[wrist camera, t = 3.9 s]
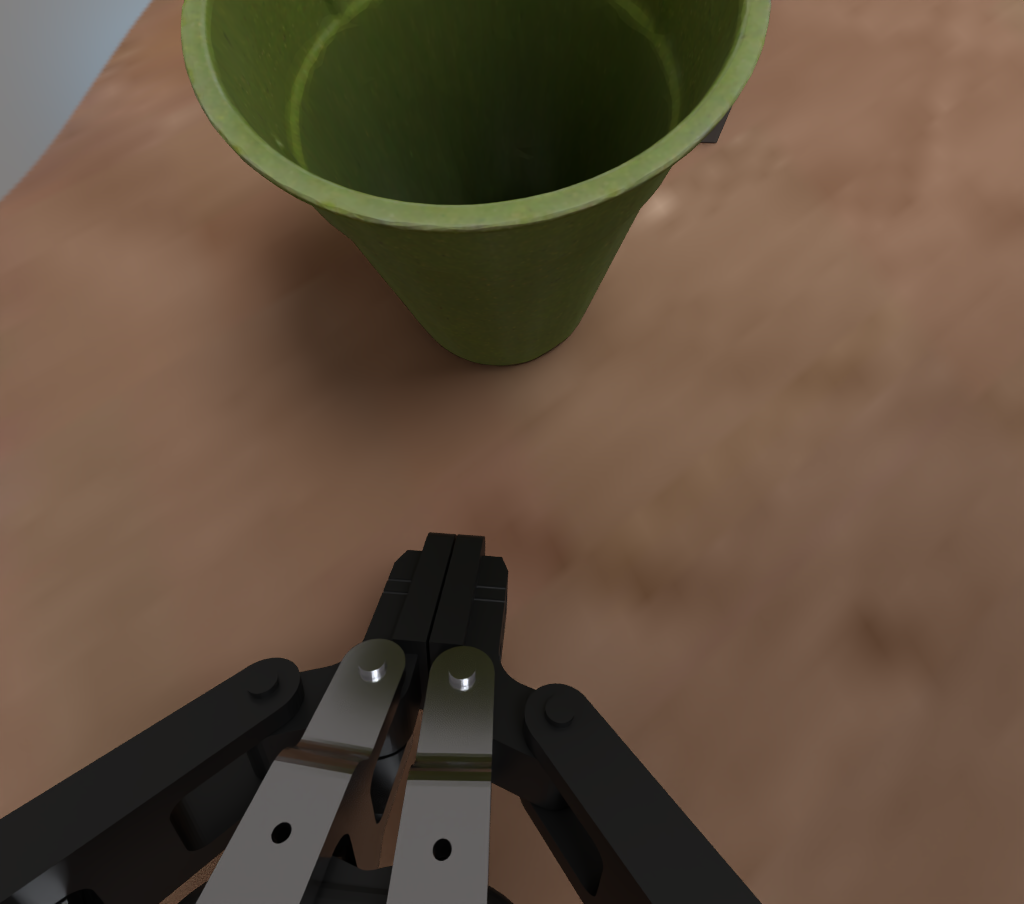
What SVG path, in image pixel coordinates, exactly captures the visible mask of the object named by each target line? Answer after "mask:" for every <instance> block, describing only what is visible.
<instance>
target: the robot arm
mask: <svg viewBox="0 0 1024 904" xmlns="http://www.w3.org/2000/svg"><path fill="white" fill-rule="evenodd" d="M507 587H508V570H507V568H506V565H505V563H504V561H503V559H502V557H494V556H485V536H473V535H460V534H458V535H456V534H445V533H431V532H430V533H429V534H428V536H427V538H426V541H425V544H424V547H423V550H422V551H414V550H407V551H406V552H405V553H404V554H403V555H402V556H401V557H400V558H399V559H398V560H397V561H396V562H395V563H394V566H393V568H392V571H391V573H390V576H389V580H388V581H387V583H386V586H385V588H384V592H383V593H382V596H381V598H380V600H379V603H378V605H377V608H376V610H375V613H374V615H373V618H372V620H371V623H370V625H369V628H368V630H367V633H366V635H365V638H364V640H363V642H362V643H360V644H358V645H356V646H355V647H353V648H352V649H351V650H350V651H349V652H348V653H347V654H346V655H345V656H344V658H343V660H342V661H341V662H339V663H337V664H335V665H332V666H328V667H324V668H319V669H314V670H309V671H304V672H299V670H298V668H297V666H296V665H295V664H294V663H293V662H291V661H290V660H287V659H284V658H269V659H264V660H261V661H258V662H256V663H254V664H252V665H250V666H248V667H247V668H245V669H244V670H242V671H240V672H239V673H237V674H235V675H234V676H232V677H231V678H229V679H227V680H226V681H224V682H222V683H221V684H219V685H218V686H216V687H214V688H213V689H211V690H209V691H208V692H206V693H205V694H203V695H201V696H200V697H198V698H196V699H195V700H193V701H192V702H190V703H188V704H187V705H185V706H183V707H182V708H180V709H179V710H177V711H175V712H174V713H172V714H170V715H169V716H167V717H166V718H164V719H162V720H161V721H159V722H157V723H156V724H154V725H153V726H151V727H149V728H148V729H146V730H145V731H143V732H141V733H140V734H138V735H136V736H135V737H133V738H132V739H130V740H128V741H127V742H125V743H123V744H122V745H120V746H119V747H117V748H115V749H114V750H112V751H110V752H109V753H107V754H106V755H104V756H102V757H101V758H99V759H97V760H96V761H94V762H93V763H91V764H89V765H88V766H86V767H84V768H83V769H81V770H80V771H78V772H76V773H75V774H73V775H71V776H70V777H68V778H67V779H65V780H63V781H62V782H60V783H58V784H57V785H55V786H54V787H52V788H50V789H49V790H47V791H45V792H44V793H42V794H41V795H39V796H37V797H36V798H34V799H32V800H31V801H29V802H28V803H26V804H24V805H23V806H21V807H19V808H18V809H16V810H15V811H13V812H11V813H10V814H8V815H6V816H5V817H3V818H2V819H0V904H159V903H160V902H161V901H163V900H164V899H165V898H166V897H167V896H169V895H170V894H171V893H172V892H173V891H175V890H176V889H177V888H178V887H180V886H181V885H182V884H183V883H184V882H186V881H187V880H188V879H189V878H191V877H192V876H193V875H194V874H195V873H197V872H198V871H199V870H200V869H201V868H203V867H204V866H205V865H206V864H208V863H209V862H210V861H211V860H212V859H214V858H215V857H216V856H217V855H218V854H220V853H221V852H222V851H223V850H225V851H224V853H223V855H222V856H221V858H220V860H219V862H218V864H217V866H216V867H215V869H214V871H213V873H212V875H211V877H210V878H209V880H208V881H207V882H205V883H204V884H202V885H201V886H199V887H198V888H197V889H195V890H194V891H193V892H191V893H190V894H189V895H187V896H186V897H185V898H184V899H183V900H181V901H180V902H179V903H178V904H513V903H512V902H511V901H510V900H509V899H508V898H506V897H505V896H504V895H503V894H501V893H500V892H498V891H497V890H495V889H494V888H492V887H490V886H488V880H489V847H490V815H491V784H492V783H494V784H496V785H498V786H500V787H502V788H504V789H506V790H508V791H510V792H512V793H514V794H516V795H518V796H519V797H520V799H521V802H522V804H523V806H524V808H525V810H526V811H527V813H528V815H529V816H530V818H531V819H532V821H533V823H534V824H535V826H536V828H537V829H538V831H539V832H540V834H541V836H542V837H543V839H544V840H545V842H546V844H547V845H548V847H549V849H550V850H551V852H552V853H553V855H554V857H555V858H556V860H557V861H558V863H559V865H560V866H561V868H562V869H563V871H564V873H565V874H566V876H567V878H568V879H569V881H570V882H571V884H572V886H573V887H574V889H575V890H576V892H577V894H578V895H579V897H580V899H581V900H582V902H583V903H584V904H761V902H760V901H759V900H758V899H757V898H756V897H755V895H754V894H753V893H752V892H751V891H750V889H749V888H748V887H747V886H746V885H745V884H744V882H743V881H742V880H741V879H740V878H739V877H738V875H737V874H736V873H735V872H734V871H733V870H732V868H731V867H730V866H729V865H728V864H727V863H726V861H725V860H724V859H723V858H722V857H721V856H720V854H719V853H718V852H717V851H716V850H715V848H714V847H713V846H712V845H711V844H710V843H709V841H708V840H707V839H706V838H705V837H704V836H703V834H702V833H701V832H700V831H699V830H698V829H697V827H696V826H695V825H694V824H693V823H692V822H691V820H690V819H689V818H688V817H687V816H686V814H685V813H684V812H683V811H682V810H681V809H680V807H679V806H678V805H677V804H676V803H675V802H674V800H673V799H672V798H671V797H670V796H669V795H668V793H667V792H666V791H665V790H664V789H663V788H662V786H661V785H660V784H659V783H658V782H657V780H656V779H655V778H654V777H653V776H652V775H651V773H650V772H649V771H648V770H647V769H646V768H645V766H644V765H643V764H642V763H641V762H640V761H639V759H638V758H637V757H636V756H635V755H634V754H633V752H632V751H631V750H630V749H629V748H628V747H627V745H626V744H625V743H624V742H623V741H622V739H621V738H620V737H619V736H618V735H617V734H616V732H615V731H614V730H613V729H612V728H611V727H610V725H609V724H608V723H607V722H606V721H605V720H604V718H603V717H602V716H601V715H600V714H599V713H598V711H597V710H596V709H595V708H594V707H593V705H592V704H591V703H590V702H589V701H588V700H587V698H586V697H585V696H584V695H583V694H582V693H580V692H579V691H578V690H576V689H574V688H573V687H570V686H568V685H564V684H548V685H544V686H542V687H540V688H538V689H537V690H535V689H532V688H530V687H527V686H525V685H523V684H521V683H519V682H517V681H515V680H514V679H512V678H511V677H510V676H509V675H508V674H507V673H506V671H505V670H504V669H503V667H502V665H501V658H502V648H503V639H504V629H505V621H506V612H507ZM419 709H423V710H424V711H423V717H422V724H421V730H420V736H419V742H418V749H417V755H416V760H415V763H414V765H411V768H410V771H409V775H408V779H407V785H406V791H405V796H404V802H403V808H402V814H401V820H400V826H399V832H398V838H397V844H396V850H395V856H394V862H393V866H389V867H384V868H380V869H378V867H379V862H380V856H381V848H382V840H383V835H384V831H385V827H386V824H387V821H388V818H389V815H390V811H391V808H392V805H393V802H394V799H395V796H396V793H397V790H398V787H399V784H400V781H401V777H402V774H403V771H404V768H405V765H406V762H407V759H408V756H409V753H410V750H411V747H412V743H413V730H414V727H415V723H416V719H417V715H418V711H419Z"/></svg>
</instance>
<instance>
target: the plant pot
mask: <svg viewBox="0 0 1024 904" xmlns="http://www.w3.org/2000/svg"><path fill="white" fill-rule="evenodd" d="M770 9H771V0H184V4H183V6H182V17H181V42H182V51H183V56H184V61H185V66H186V70H187V73H188V76H189V79H190V82H191V85H192V87H193V90H194V93H195V95H196V97H197V99H198V101H199V103H200V105H201V107H202V109H203V111H204V112H205V114H206V116H207V117H208V119H209V121H210V122H211V124H212V125H213V127H214V128H215V129H216V130H217V132H218V133H219V134H220V135H221V136H222V138H223V139H224V140H225V141H226V142H227V143H228V144H229V146H230V147H231V148H232V149H233V150H234V151H235V152H236V153H237V154H238V155H239V156H240V158H241V159H242V160H243V161H244V162H246V163H247V164H248V165H249V166H250V167H252V168H253V169H254V170H255V171H257V172H258V173H259V174H261V175H262V176H263V177H265V178H266V179H267V180H269V181H270V182H272V183H273V184H275V185H276V186H277V187H279V188H281V189H282V190H284V191H286V192H287V193H289V194H291V195H292V196H294V197H296V198H297V199H299V200H301V201H304V202H306V203H308V204H310V205H312V206H313V207H314V208H315V209H316V210H317V211H318V212H319V213H320V214H321V215H322V216H323V217H324V218H325V219H326V220H327V221H328V222H329V223H330V224H332V225H333V226H334V227H336V228H337V229H338V230H339V231H341V232H342V233H343V234H344V235H346V236H347V237H348V238H350V239H351V240H352V241H353V242H354V243H355V244H356V246H357V247H358V248H359V249H360V251H361V252H362V253H363V254H364V256H365V257H366V258H367V259H368V260H369V262H370V263H371V264H372V265H373V267H374V268H375V269H376V270H377V271H378V273H379V274H380V275H381V276H382V278H383V279H384V280H385V281H386V282H387V284H388V285H389V286H390V287H391V288H392V290H393V291H394V292H395V293H396V294H397V296H398V297H399V298H400V299H401V300H402V302H403V303H404V304H405V305H406V307H407V308H408V309H409V310H410V311H411V313H412V314H413V315H414V316H415V318H416V319H417V320H418V321H419V323H420V324H421V325H422V326H423V327H424V328H425V330H426V331H427V332H428V333H429V334H430V335H431V336H432V337H433V338H434V339H435V340H436V341H437V342H438V343H439V344H440V345H441V346H443V347H444V348H445V349H447V350H448V351H450V352H451V353H453V354H455V355H457V356H459V357H461V358H464V359H466V360H469V361H472V362H476V363H480V364H487V365H511V364H518V363H523V362H527V361H530V360H533V359H536V358H537V357H539V356H541V355H542V354H544V353H546V352H547V351H549V350H551V349H552V348H554V347H555V346H557V345H558V344H560V343H561V342H562V341H564V340H565V339H566V338H567V337H569V336H570V335H571V333H572V332H573V331H574V329H575V328H576V327H577V326H578V324H579V322H580V320H581V319H582V317H583V315H584V313H585V312H586V310H587V308H588V306H589V304H590V302H591V300H592V298H593V296H594V295H595V293H596V291H597V289H598V287H599V285H600V283H601V281H602V280H603V278H604V276H605V274H606V272H607V270H608V268H609V266H610V264H611V262H612V260H613V259H614V257H615V255H616V253H617V251H618V249H619V247H620V245H621V244H622V242H623V240H624V238H625V236H626V234H627V232H628V230H629V229H630V227H631V225H632V223H633V221H634V219H635V217H636V216H637V214H638V212H639V210H640V208H641V207H642V206H643V205H644V204H645V203H646V202H647V201H648V199H649V198H650V197H651V196H652V195H653V194H654V192H655V191H656V190H657V189H658V187H659V186H660V185H661V183H662V181H663V180H664V178H665V177H666V175H667V173H668V172H669V170H670V169H671V167H672V166H673V165H674V164H675V163H677V162H678V161H679V160H680V159H682V158H683V157H684V156H686V155H687V154H688V153H689V152H691V151H692V150H693V149H694V148H695V147H696V146H697V145H698V144H699V143H700V142H701V141H702V140H703V139H704V138H705V137H706V136H707V135H708V134H709V133H710V132H711V131H712V130H713V129H714V128H715V127H716V126H717V124H718V123H719V122H720V121H721V119H722V118H723V117H724V116H725V114H726V113H727V112H728V111H729V109H730V108H731V107H732V105H733V104H734V102H735V101H736V99H737V98H738V96H739V95H740V93H741V91H742V90H743V88H744V86H745V85H746V83H747V81H748V80H749V78H750V76H751V75H752V72H753V70H754V68H755V65H756V63H757V61H758V59H759V56H760V54H761V51H762V48H763V45H764V41H765V37H766V32H767V28H768V23H769V16H770Z"/></svg>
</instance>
